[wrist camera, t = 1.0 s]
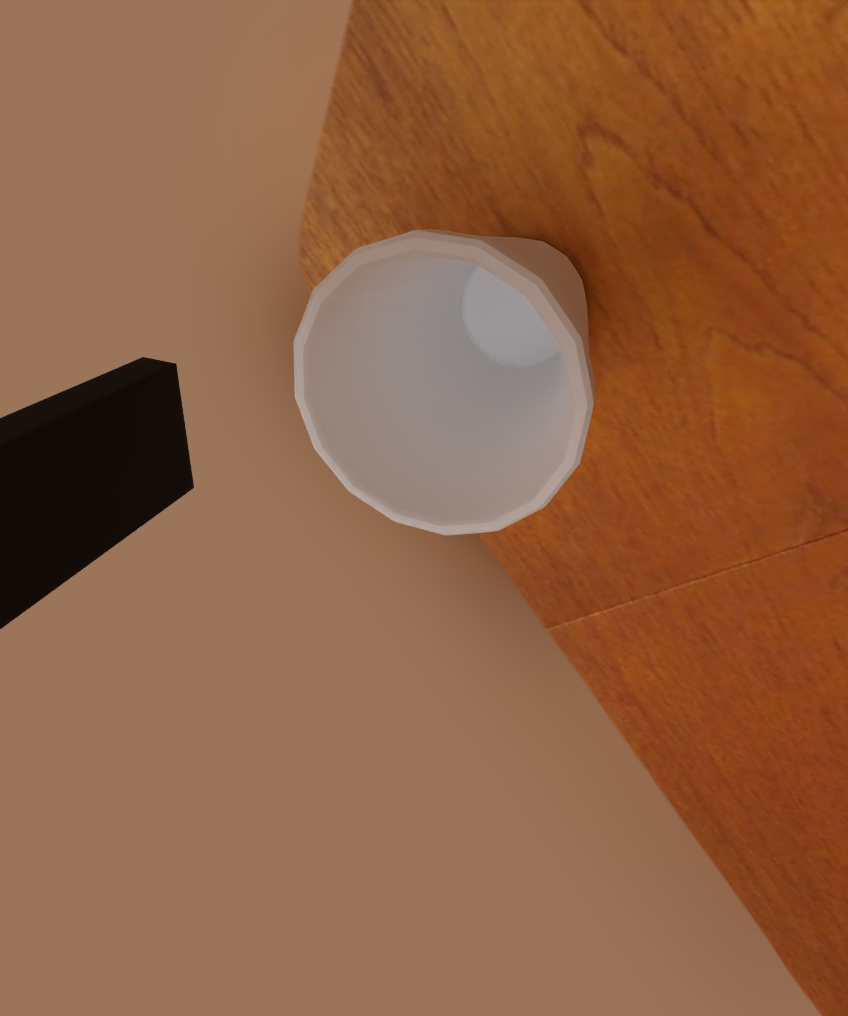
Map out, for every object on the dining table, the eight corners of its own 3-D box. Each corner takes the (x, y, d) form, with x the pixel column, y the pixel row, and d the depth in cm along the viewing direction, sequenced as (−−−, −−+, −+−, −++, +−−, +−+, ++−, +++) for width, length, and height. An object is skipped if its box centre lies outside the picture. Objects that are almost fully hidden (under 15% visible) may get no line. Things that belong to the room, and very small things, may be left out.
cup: (525, 443, 35) (448, 586, 24) (384, 310, 34) (240, 397, 23) (680, 302, 29) (669, 407, 18) (515, 136, 28) (403, 146, 17)
